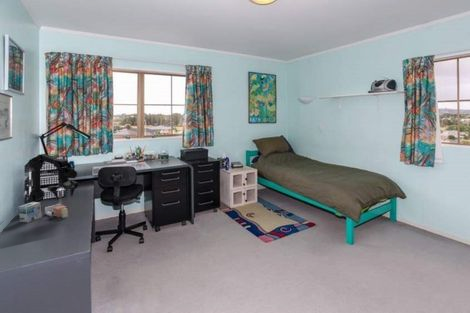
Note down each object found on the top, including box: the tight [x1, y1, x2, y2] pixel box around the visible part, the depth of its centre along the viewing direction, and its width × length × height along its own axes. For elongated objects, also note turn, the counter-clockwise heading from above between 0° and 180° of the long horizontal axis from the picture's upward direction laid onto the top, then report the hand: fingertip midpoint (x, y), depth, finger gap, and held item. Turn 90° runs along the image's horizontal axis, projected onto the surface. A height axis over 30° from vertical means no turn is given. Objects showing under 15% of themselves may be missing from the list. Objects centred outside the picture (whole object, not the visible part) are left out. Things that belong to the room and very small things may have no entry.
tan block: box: [44, 203, 62, 217], centre depth 195 cm, size 7×10×5 cm
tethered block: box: [53, 204, 69, 219], centre depth 189 cm, size 11×6×6 cm, turn 56°
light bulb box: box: [18, 201, 43, 223], centre depth 183 cm, size 11×7×11 cm, turn 168°
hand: (64, 197), depth 192 cm, fingers open, 9 cm apart
